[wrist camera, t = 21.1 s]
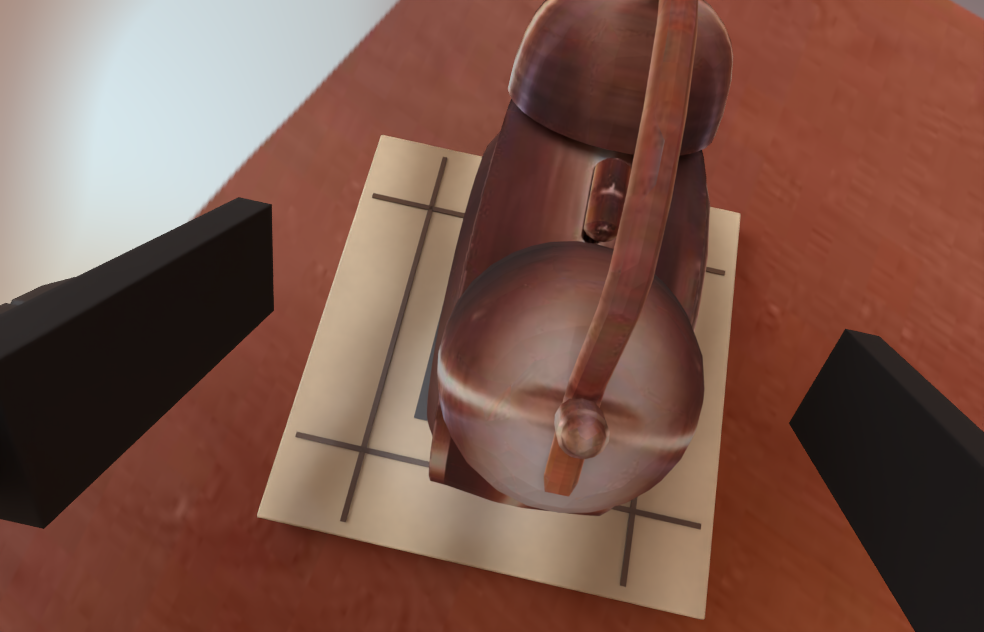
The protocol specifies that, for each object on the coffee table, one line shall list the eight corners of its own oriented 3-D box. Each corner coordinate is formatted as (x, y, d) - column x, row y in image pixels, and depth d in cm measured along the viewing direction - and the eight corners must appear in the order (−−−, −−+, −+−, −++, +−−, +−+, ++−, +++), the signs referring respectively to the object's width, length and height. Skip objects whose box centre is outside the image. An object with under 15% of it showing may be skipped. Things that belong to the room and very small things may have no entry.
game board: (267, 514, 19) (254, 517, 18) (384, 149, 24) (380, 132, 23) (691, 611, 19) (707, 621, 18) (728, 225, 24) (742, 211, 22)
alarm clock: (560, 509, 19) (882, 646, 4) (429, 478, 19) (306, 513, 4) (607, 237, 22) (885, -216, 7) (494, 212, 22) (550, -287, 7)
